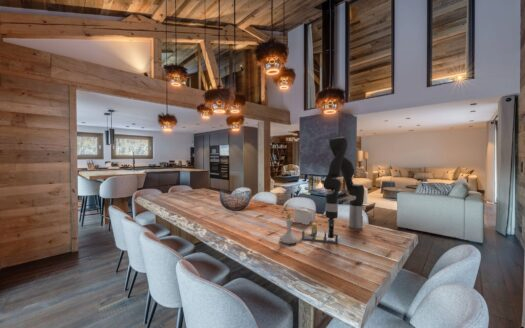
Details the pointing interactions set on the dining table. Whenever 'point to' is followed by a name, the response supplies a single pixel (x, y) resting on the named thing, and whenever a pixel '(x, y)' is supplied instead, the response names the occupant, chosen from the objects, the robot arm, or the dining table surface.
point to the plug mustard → (314, 228)
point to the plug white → (328, 232)
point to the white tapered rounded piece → (288, 231)
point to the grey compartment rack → (319, 238)
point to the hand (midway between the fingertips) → (330, 236)
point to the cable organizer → (304, 215)
